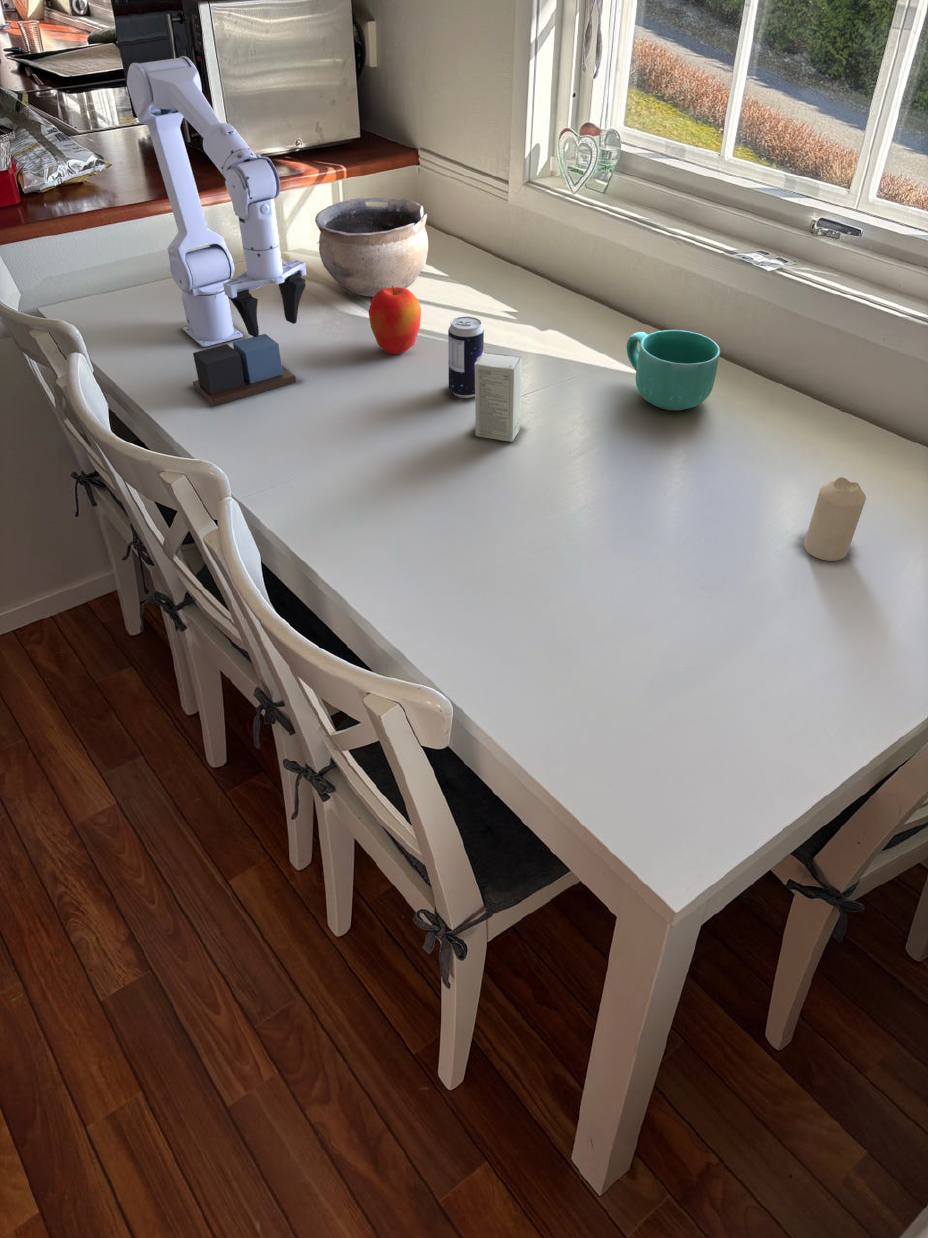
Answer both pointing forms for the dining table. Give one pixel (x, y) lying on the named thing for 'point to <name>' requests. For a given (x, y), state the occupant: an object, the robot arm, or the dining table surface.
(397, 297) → the apple
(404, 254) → the ceramic bowl
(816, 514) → the candle
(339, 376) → the dining table surface
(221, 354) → the dark grey cube
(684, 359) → the mug
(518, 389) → the cosmetic box
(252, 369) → the slate block
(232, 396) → the board
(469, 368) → the beverage can
